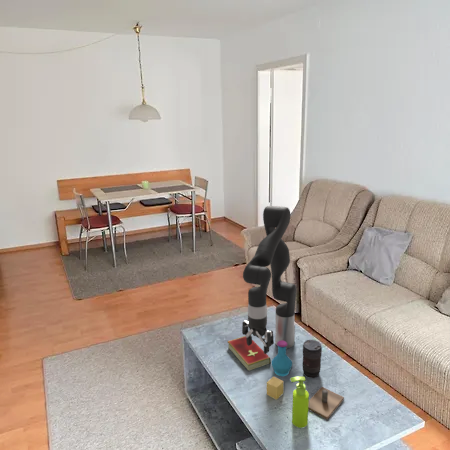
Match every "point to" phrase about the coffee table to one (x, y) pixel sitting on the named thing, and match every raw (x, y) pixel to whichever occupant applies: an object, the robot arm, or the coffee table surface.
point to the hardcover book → (248, 353)
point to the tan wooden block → (275, 387)
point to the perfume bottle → (281, 360)
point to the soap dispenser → (300, 403)
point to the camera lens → (311, 358)
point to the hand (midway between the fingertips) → (257, 348)
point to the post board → (325, 406)
